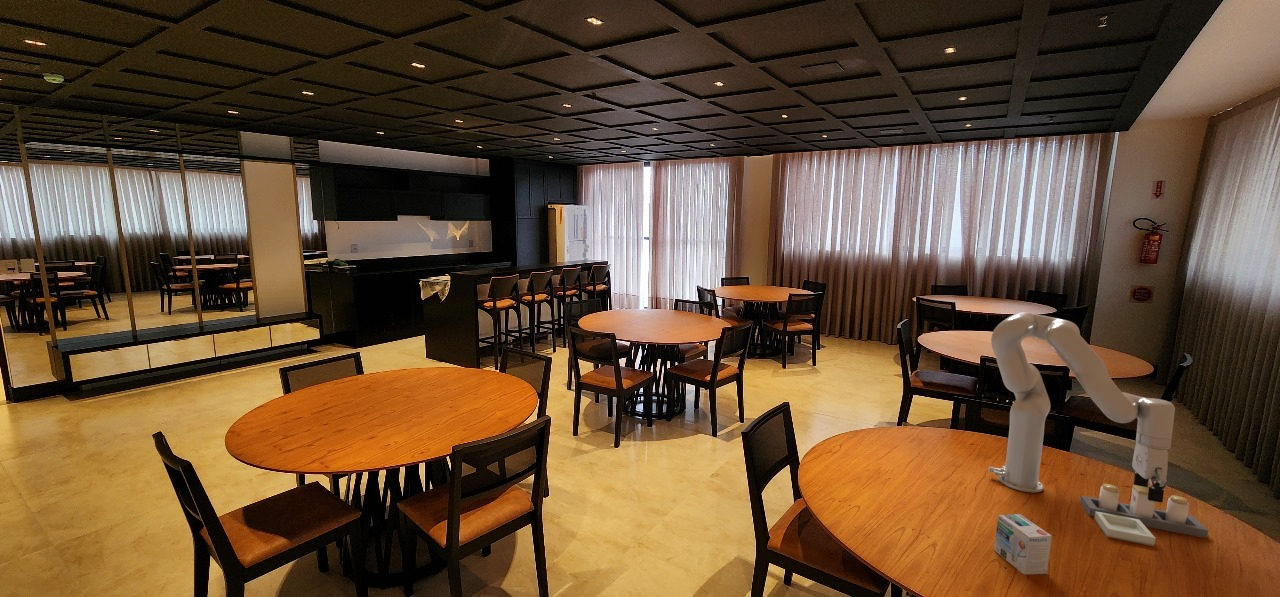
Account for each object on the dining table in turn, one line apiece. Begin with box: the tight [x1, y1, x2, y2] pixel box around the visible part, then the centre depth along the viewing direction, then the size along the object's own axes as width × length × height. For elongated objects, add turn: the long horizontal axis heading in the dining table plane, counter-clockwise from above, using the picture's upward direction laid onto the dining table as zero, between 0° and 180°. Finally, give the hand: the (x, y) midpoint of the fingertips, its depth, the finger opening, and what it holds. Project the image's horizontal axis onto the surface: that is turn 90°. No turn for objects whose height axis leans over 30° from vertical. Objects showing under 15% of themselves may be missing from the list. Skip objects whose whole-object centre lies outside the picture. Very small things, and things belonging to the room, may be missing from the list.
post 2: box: [1165, 494, 1190, 524], centre depth 156 cm, size 4×4×9 cm
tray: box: [1093, 511, 1156, 547], centre depth 153 cm, size 10×10×2 cm
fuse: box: [1129, 484, 1156, 518], centre depth 159 cm, size 4×4×10 cm
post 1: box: [1098, 483, 1120, 512], centre depth 163 cm, size 4×4×9 cm
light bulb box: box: [993, 513, 1053, 576], centre depth 138 cm, size 11×7×11 cm, turn 5°
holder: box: [1079, 495, 1209, 539], centre depth 160 cm, size 27×8×2 cm, turn 65°
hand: (1147, 493), depth 158 cm, fingers open, 9 cm apart
